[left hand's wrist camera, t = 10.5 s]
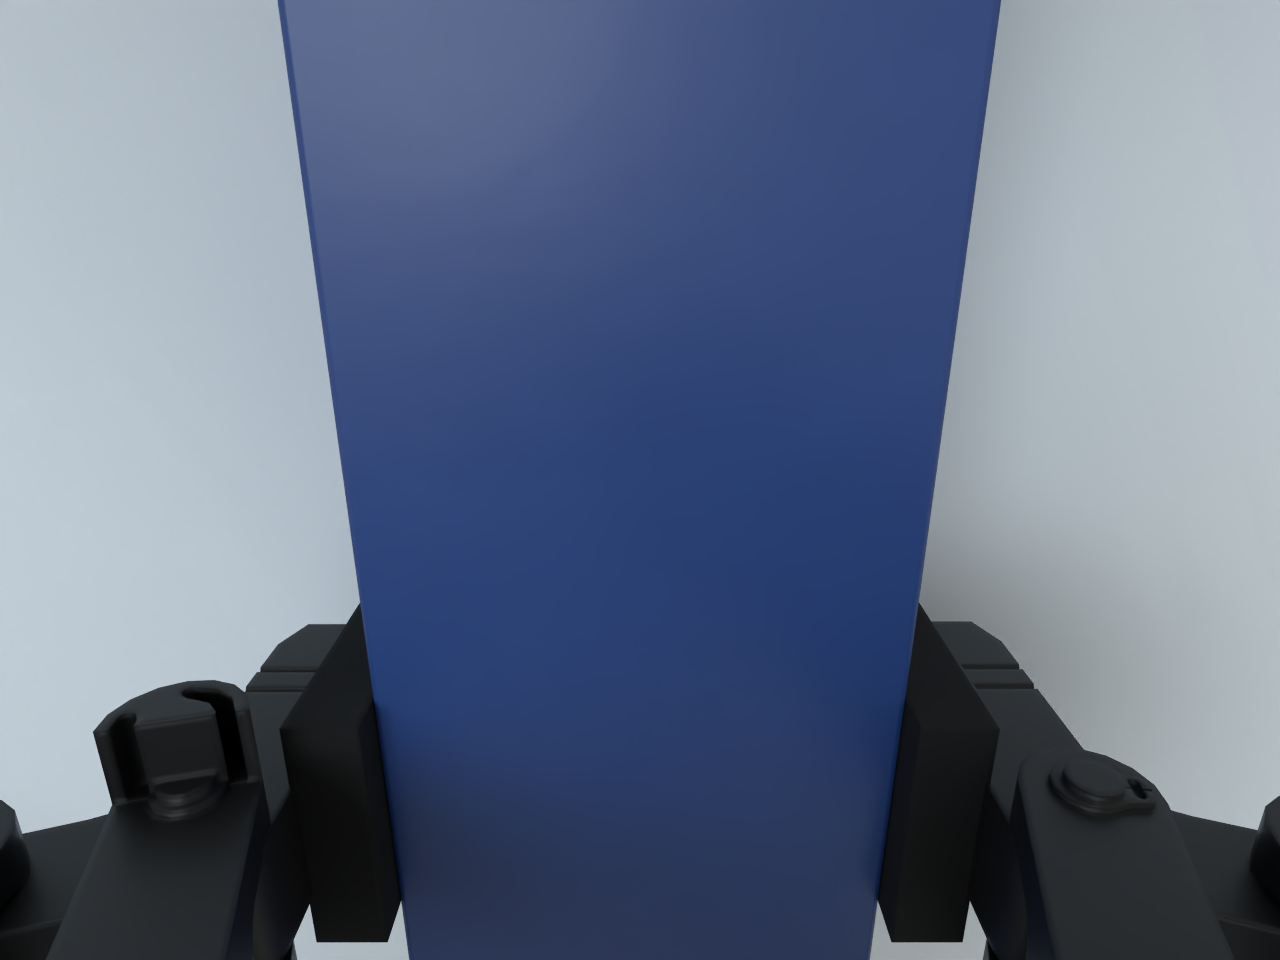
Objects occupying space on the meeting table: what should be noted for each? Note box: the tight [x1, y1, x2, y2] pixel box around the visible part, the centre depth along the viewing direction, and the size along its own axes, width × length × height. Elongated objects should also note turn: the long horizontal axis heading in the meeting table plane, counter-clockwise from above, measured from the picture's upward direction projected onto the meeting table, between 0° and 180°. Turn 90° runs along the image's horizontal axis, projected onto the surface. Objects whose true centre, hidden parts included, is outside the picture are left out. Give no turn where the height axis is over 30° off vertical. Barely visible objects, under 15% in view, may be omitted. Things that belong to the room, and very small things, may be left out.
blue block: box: [278, 0, 1001, 960], centre depth 11 cm, size 17×5×8 cm, turn 0°
